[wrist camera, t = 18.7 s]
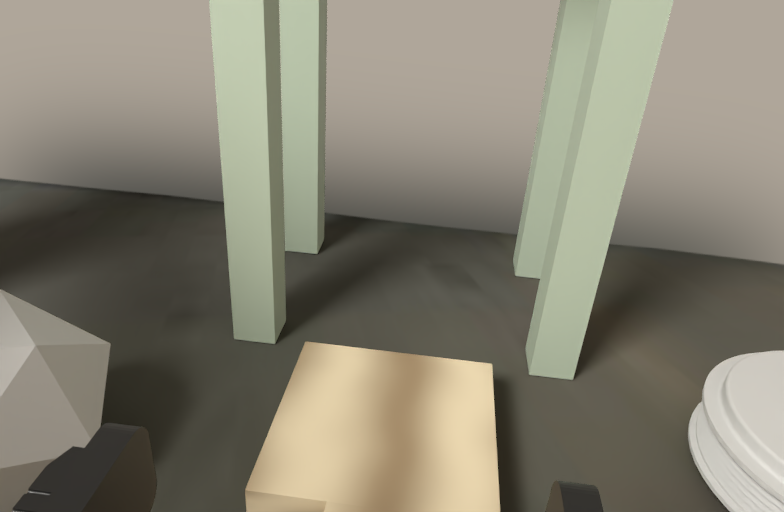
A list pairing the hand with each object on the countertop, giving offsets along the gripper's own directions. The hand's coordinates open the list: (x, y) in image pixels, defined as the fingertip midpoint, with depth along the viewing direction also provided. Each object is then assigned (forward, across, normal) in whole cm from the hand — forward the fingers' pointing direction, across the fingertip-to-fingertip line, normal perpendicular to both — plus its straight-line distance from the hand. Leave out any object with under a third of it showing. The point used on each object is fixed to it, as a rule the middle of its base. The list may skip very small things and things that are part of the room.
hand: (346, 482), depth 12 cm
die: (+9, -16, -13) cm, 22 cm away
